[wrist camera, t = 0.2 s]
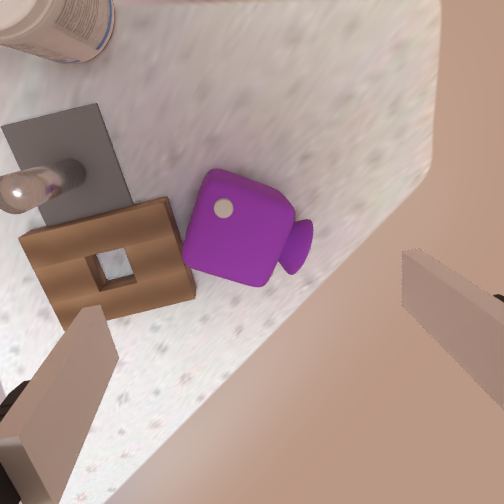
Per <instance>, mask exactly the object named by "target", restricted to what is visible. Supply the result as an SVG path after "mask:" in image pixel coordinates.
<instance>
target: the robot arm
mask: <svg viewBox="0 0 504 504" xmlns="http://www.w3.org/2000/svg"><path fill="white" fill-rule="evenodd" d="M402 257H403V258H402V263H403V264H402V306H403V308H404V309H405V310H406V311H407V312H408V313H409V314H410V315H411V316H412V317H413V318H414V319H415V320H416V321H417V322H418V323H419V324H420V325H421V326H422V327H423V328H424V329H425V330H426V331H427V332H428V333H429V334H430V335H431V336H432V337H433V338H434V339H435V340H436V341H437V342H438V343H439V345H440V346H441V347H443V349H444V350H446V352H447V353H448V354H449V355H450V356H451V357H452V358H453V359H454V360H455V361H456V362H457V363H458V364H459V365H460V366H461V367H462V368H463V369H464V370H465V371H466V372H467V373H468V374H469V375H470V376H471V377H472V378H473V379H474V380H475V381H476V382H477V383H478V384H479V385H480V386H481V387H482V388H483V389H484V391H485V392H487V394H489V396H490V397H491V398H492V399H493V400H494V401H495V402H496V403H497V404H498V405H499V406H500V407H501V408H502V409H503V410H504V296H502V295H499V294H497V295H491V294H489V293H488V292H486V291H485V290H483V289H481V288H480V287H479V286H477V285H475V284H474V283H472V282H471V281H469V280H468V279H466V278H464V277H463V276H461V275H460V274H458V273H457V272H455V271H454V270H452V269H451V268H449V267H448V266H446V265H444V264H443V263H441V262H440V261H438V260H437V259H435V258H434V257H432V256H431V255H429V254H427V253H426V252H424V251H423V250H421V249H414V250H408V251H403V252H402ZM118 359H119V356H118V353H117V350H116V348H115V345H114V342H113V339H112V336H111V333H110V330H109V328H108V325H107V322H106V319H105V316H104V313H103V311H102V308H101V305H96V306H90V307H85V308H82V309H81V311H80V312H79V313H78V315H77V316H76V318H75V319H74V320H73V322H72V323H71V324H70V326H69V327H68V329H67V330H66V331H65V333H64V334H63V336H62V337H61V338H60V340H59V341H58V343H57V344H56V345H55V347H54V348H53V350H52V351H51V352H50V354H49V355H48V357H47V358H46V359H45V361H44V362H43V364H42V365H41V366H40V368H39V369H38V371H37V372H36V373H35V375H34V376H33V378H32V379H31V380H29V381H23V382H22V383H21V384H20V385H19V386H17V387H16V388H15V389H14V390H13V391H11V392H10V393H9V394H8V396H7V397H6V398H5V400H4V401H3V402H2V404H1V405H0V504H19V502H20V500H21V502H22V504H59V502H60V499H61V497H62V494H63V492H64V490H65V487H66V485H67V482H68V480H69V478H70V475H71V473H72V470H73V468H74V465H75V463H76V461H77V458H78V456H79V453H80V451H81V449H82V446H83V444H84V441H85V439H86V436H87V434H88V432H89V429H90V427H91V424H92V422H93V420H94V417H95V415H96V412H97V410H98V407H99V405H100V403H101V400H102V398H103V395H104V393H105V391H106V388H107V386H108V383H109V381H110V378H111V376H112V374H113V371H114V369H115V366H116V364H117V362H118Z"/></svg>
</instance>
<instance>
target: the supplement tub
mask: <svg viewBox="0 0 504 504" xmlns="http://www.w3.org/2000/svg"><path fill="white" fill-rule="evenodd" d="M113 25H114V5H113V0H0V44H1V45H4V46H7V47H11V48H14V49H17V50H20V51H24V52H27V53H30V54H33V55H37V56H40V57H43V58H46V59H49V60H53V61H56V62H60V63H66V64H76V63H82V62H85V61H88V60H90V59H92V58H94V57H95V56H96V55H98V54H99V53H100V52H101V51H102V50H103V48H104V47H105V45H106V44H107V42H108V40H109V38H110V36H111V33H112V30H113Z"/></svg>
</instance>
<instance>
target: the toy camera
mask: <svg viewBox="0 0 504 504" xmlns="http://www.w3.org/2000/svg"><path fill="white" fill-rule="evenodd" d="M294 219H295V210H294V208H293V206H292V205H291V203H290V202H289V201H288V200H287V199H286V197H285V196H284V195H283V194H282V193H280V192H279V191H278V190H276V189H274V188H271V187H269V186H266V185H264V184H261V183H258V182H256V181H253V180H250V179H248V178H245V177H242V176H239V175H237V174H234V173H231V172H228V171H225V170H222V169H212V170H210V171H209V172H208V173H207V175H206V176H205V178H204V181H203V183H202V186H201V189H200V192H199V195H198V198H197V201H196V204H195V207H194V210H193V213H192V216H191V219H190V222H189V225H188V228H187V232H186V235H185V239H184V243H183V247H182V260H183V262H184V263H185V264H186V265H187V266H189V267H191V268H193V269H196V270H199V271H202V272H205V273H208V274H212V275H215V276H218V277H221V278H225V279H228V280H231V281H235V282H238V283H241V284H245V285H248V286H253V287H262V286H264V285H265V284H266V283H267V282H268V280H269V278H270V277H271V276H272V275H273V270H274V268H275V266H276V264H277V262H278V261H279V262H280V264H281V265H282V267H283V268H284V270H285V271H286V272H287V273H288V274H290V275H293V274H295V273H296V272H297V271H298V270H299V269H300V268H301V267H302V265H303V263H304V262H305V260H306V258H307V256H308V254H309V252H310V249H311V243H312V238H313V224H312V221H311V220H308V219H306V220H301V221H298V222H295V223H293V222H294Z"/></svg>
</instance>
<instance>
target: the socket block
mask: <svg viewBox="0 0 504 504" xmlns="http://www.w3.org/2000/svg"><path fill="white" fill-rule="evenodd" d="M18 240H19V242H20V244H21V246H22V248H23V250H24V252H25V254H26V256H27V258H28V260H29V262H30V264H31V266H32V268H33V270H34V272H35V274H36V276H37V278H38V280H39V282H40V284H41V286H42V288H43V290H44V292H45V294H46V296H47V298H48V300H49V302H50V304H51V306H52V308H53V310H54V312H55V314H56V316H57V318H58V320H59V322H60V324H61V326H62V327H63V329H64V331H66V330H67V329H68V327H69V326H70V324H71V323H72V322H73V320H74V319H75V318H76V316H77V315H78V313H79V312H80V311H81V309H82V308H85V307H90V306H96V305H101V308H102V311H103V313H104V316H105V319H106V321H107V320H111V319H115V318H119V317H123V316H127V315H131V314H136V313H140V312H144V311H148V310H152V309H156V308H160V307H164V306H168V305H172V304H176V303H180V302H184V301H188V300H192V299H195V296H196V284H195V281H194V278H193V275H192V272H191V269H190V267H189V266H187V265H186V264H185V263H184V262H183V260H182V247H183V244H182V241H181V238H180V234H179V231H178V228H177V225H176V222H175V219H174V216H173V213H172V209H171V206H170V203H169V200H168V197H164V198H160V199H156V200H152V201H148V202H144V203H139V204H135V205H133V206H130V207H126V208H121V209H117V210H113V211H109V212H105V213H101V214H97V215H93V216H89V217H85V218H81V219H77V220H73V221H68V222H64V223H60V224H56V225H52V226H48V227H47V226H46V227H41V228H37V229H33V230H31V231H29V232H27V233H26V234H24V235H22V236H21V237H19V238H18ZM123 247H124V249H125V252H126V255H127V257H128V260H129V262H130V265H131V267H132V270H133V273H134V275H130V276H126V277H121V278H117V279H113V280H109V281H107V280H106V277H105V275H104V273H103V270H102V268H101V266H100V263H99V261H98V258H97V256H96V254H98V253H102V252H106V251H110V250H115V249H119V248H123Z"/></svg>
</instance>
